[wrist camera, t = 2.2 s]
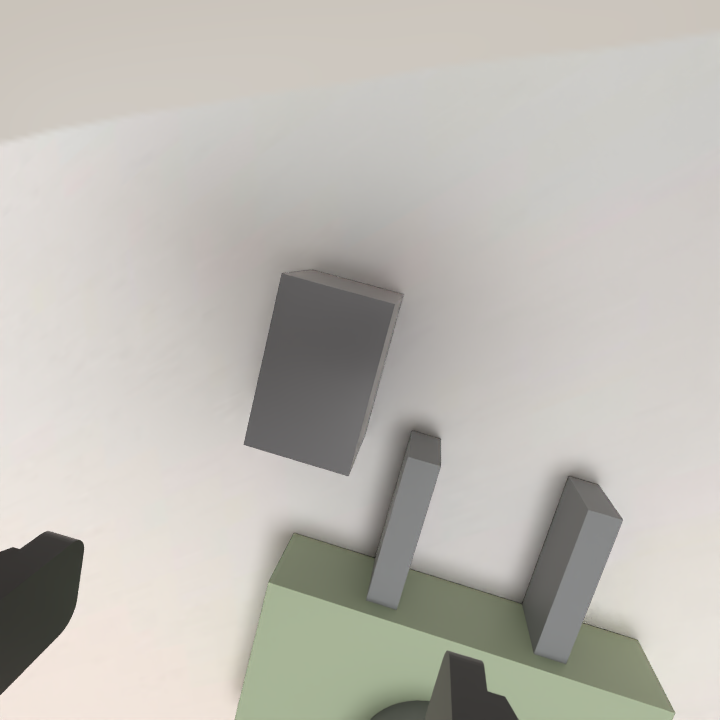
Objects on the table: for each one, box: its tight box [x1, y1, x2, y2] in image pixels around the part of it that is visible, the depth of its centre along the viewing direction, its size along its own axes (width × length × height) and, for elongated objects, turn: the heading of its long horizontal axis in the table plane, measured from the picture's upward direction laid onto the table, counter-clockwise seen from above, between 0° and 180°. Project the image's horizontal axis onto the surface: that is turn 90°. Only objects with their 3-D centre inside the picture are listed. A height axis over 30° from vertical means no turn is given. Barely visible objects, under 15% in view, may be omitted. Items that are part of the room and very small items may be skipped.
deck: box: [235, 431, 675, 720], centre depth 28 cm, size 20×20×9 cm
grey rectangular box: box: [244, 270, 404, 476], centre depth 27 cm, size 8×5×6 cm, turn 165°
